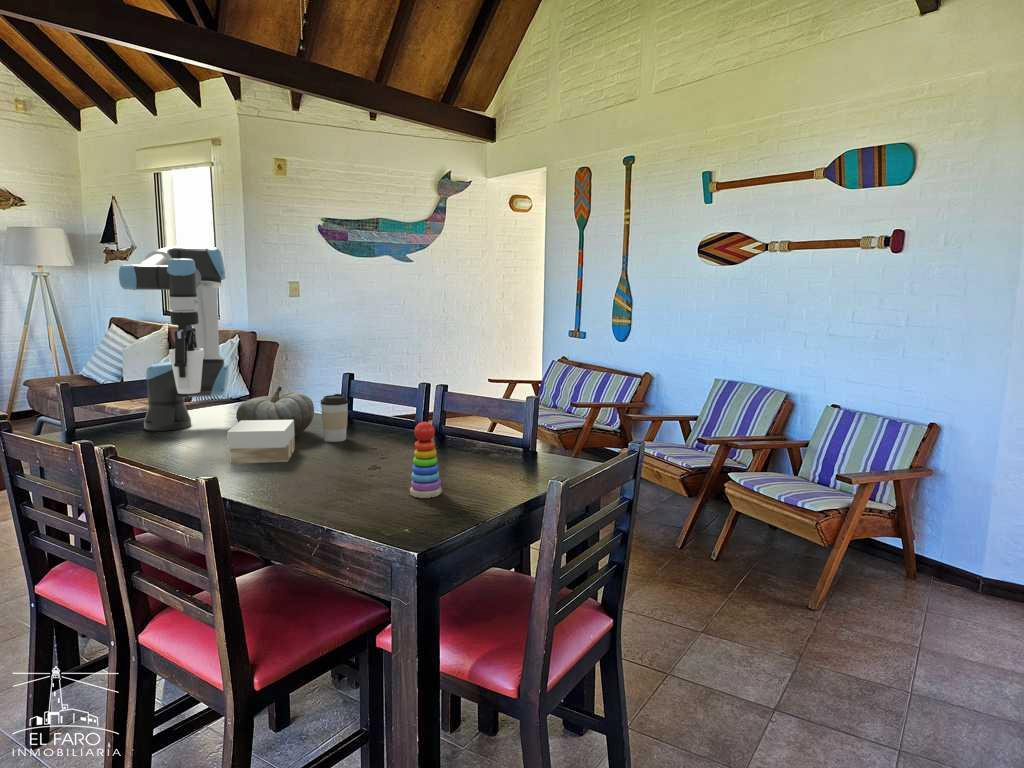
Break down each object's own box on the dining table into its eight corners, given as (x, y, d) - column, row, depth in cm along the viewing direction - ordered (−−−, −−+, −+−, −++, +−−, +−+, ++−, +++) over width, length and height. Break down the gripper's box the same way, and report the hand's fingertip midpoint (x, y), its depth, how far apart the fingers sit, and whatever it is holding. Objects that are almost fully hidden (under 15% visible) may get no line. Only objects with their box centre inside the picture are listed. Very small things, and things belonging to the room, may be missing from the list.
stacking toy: (410, 489, 177) (410, 418, 175) (442, 489, 178) (441, 418, 175) (409, 499, 170) (408, 425, 167) (441, 499, 170) (441, 425, 167)
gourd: (329, 430, 232) (317, 380, 229) (256, 452, 218) (242, 400, 215) (304, 424, 252) (293, 379, 250) (235, 445, 238) (222, 396, 236)
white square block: (241, 436, 215) (240, 420, 214) (294, 435, 217) (293, 419, 216) (227, 448, 199) (227, 431, 198) (285, 447, 201) (284, 430, 200)
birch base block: (242, 451, 215) (241, 436, 215) (295, 450, 218) (294, 434, 218) (230, 465, 200) (229, 448, 199) (288, 463, 203) (287, 446, 202)
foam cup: (211, 392, 209) (208, 349, 207) (179, 396, 202) (176, 352, 200) (197, 388, 215) (195, 347, 213) (167, 391, 209) (164, 349, 207)
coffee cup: (341, 443, 226) (340, 398, 224) (316, 441, 228) (315, 397, 225) (353, 437, 235) (352, 393, 232) (329, 435, 236) (327, 392, 234)
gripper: (187, 313, 195) (192, 391, 199) (206, 309, 216) (210, 379, 220) (159, 313, 194) (164, 391, 197) (180, 309, 215) (185, 379, 219)
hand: (188, 385), depth 209 cm, fingers closed on foam cup, 9 cm apart
